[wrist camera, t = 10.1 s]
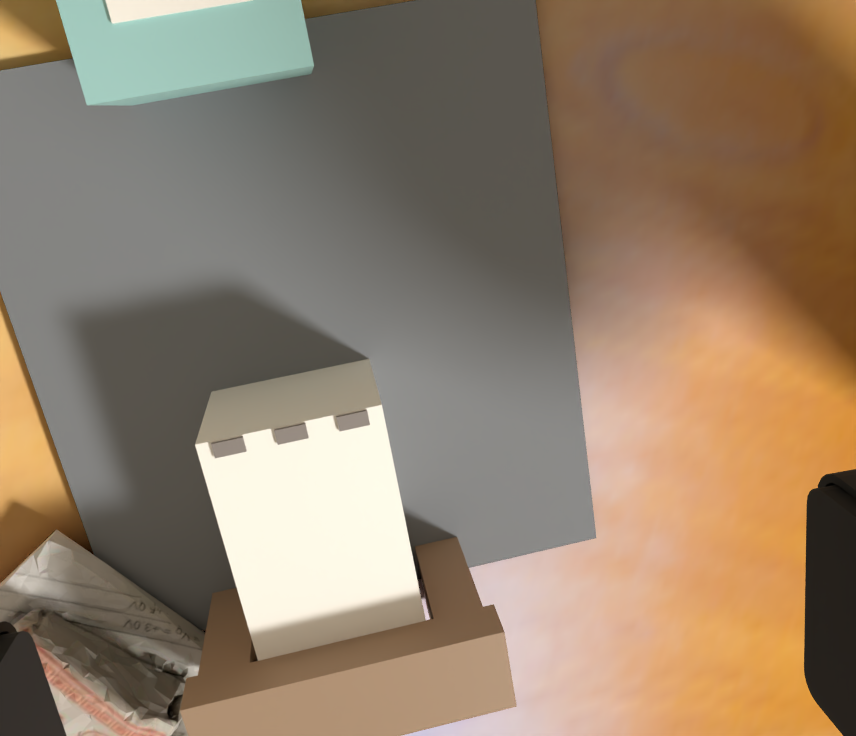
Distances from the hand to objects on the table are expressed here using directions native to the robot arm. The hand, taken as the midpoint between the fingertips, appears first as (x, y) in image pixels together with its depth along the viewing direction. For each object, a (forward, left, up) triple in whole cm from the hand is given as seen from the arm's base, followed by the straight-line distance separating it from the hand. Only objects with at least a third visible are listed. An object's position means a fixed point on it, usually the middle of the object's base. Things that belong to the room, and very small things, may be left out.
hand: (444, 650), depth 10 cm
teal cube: (+3, -10, -21) cm, 24 cm away
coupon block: (+3, +9, -21) cm, 23 cm away
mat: (+2, +2, -22) cm, 22 cm away
